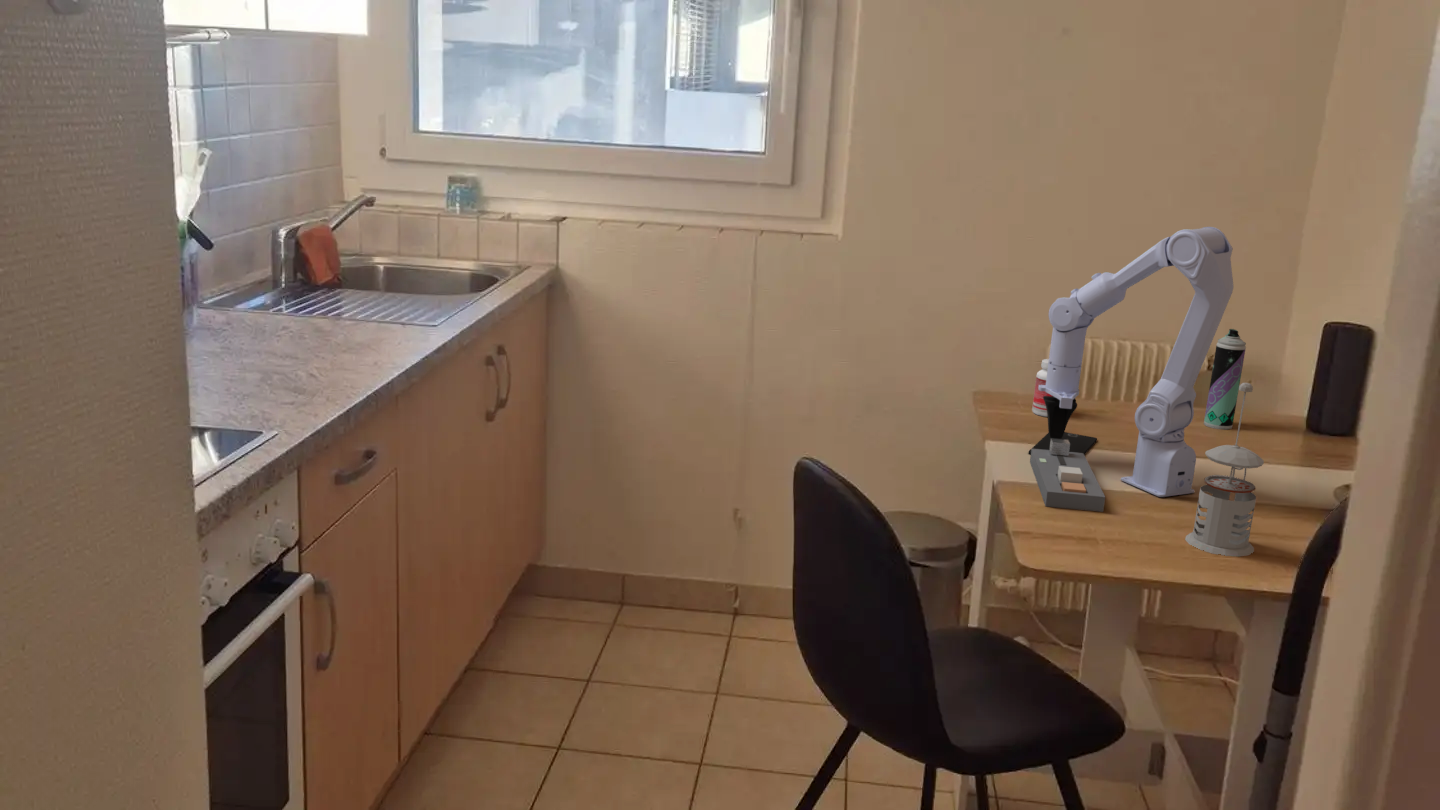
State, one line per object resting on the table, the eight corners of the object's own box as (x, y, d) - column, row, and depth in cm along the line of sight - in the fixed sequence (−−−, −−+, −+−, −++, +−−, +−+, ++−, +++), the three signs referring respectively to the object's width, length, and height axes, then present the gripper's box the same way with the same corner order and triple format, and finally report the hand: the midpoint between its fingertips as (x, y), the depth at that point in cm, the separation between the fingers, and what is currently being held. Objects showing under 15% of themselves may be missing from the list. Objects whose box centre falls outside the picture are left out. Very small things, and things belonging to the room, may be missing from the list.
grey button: (1080, 488, 205) (1082, 474, 204) (1059, 486, 205) (1061, 472, 205) (1077, 481, 208) (1079, 468, 208) (1057, 479, 209) (1058, 466, 208)
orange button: (1084, 504, 200) (1086, 490, 200) (1062, 502, 201) (1064, 488, 200) (1081, 497, 204) (1083, 483, 203) (1059, 495, 204) (1061, 481, 203)
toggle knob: (1068, 455, 219) (1070, 443, 218) (1051, 454, 219) (1052, 442, 218) (1066, 451, 221) (1068, 439, 220) (1049, 450, 221) (1050, 438, 221)
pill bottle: (1062, 419, 253) (1069, 366, 250) (1031, 415, 254) (1037, 362, 251) (1062, 412, 258) (1069, 360, 255) (1032, 408, 260) (1038, 356, 257)
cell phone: (1097, 442, 239) (1097, 437, 239) (1076, 465, 224) (1076, 460, 223) (1051, 434, 243) (1051, 429, 243) (1027, 456, 228) (1027, 451, 227)
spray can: (1197, 423, 256) (1213, 327, 251) (1217, 421, 258) (1233, 326, 253) (1218, 430, 251) (1234, 332, 246) (1238, 428, 253) (1254, 331, 248)
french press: (1177, 544, 186) (1203, 382, 180) (1196, 524, 196) (1222, 369, 189) (1246, 561, 181) (1276, 395, 175) (1263, 539, 191) (1291, 381, 184)
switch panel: (1103, 511, 199) (1105, 496, 198) (1045, 506, 200) (1047, 490, 199) (1081, 466, 222) (1083, 452, 221) (1029, 461, 223) (1031, 448, 222)
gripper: (1037, 353, 229) (1028, 424, 233) (1046, 371, 215) (1037, 446, 219) (1076, 356, 229) (1067, 427, 232) (1088, 374, 215) (1078, 450, 218)
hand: (1055, 437), depth 225 cm, fingers closed
